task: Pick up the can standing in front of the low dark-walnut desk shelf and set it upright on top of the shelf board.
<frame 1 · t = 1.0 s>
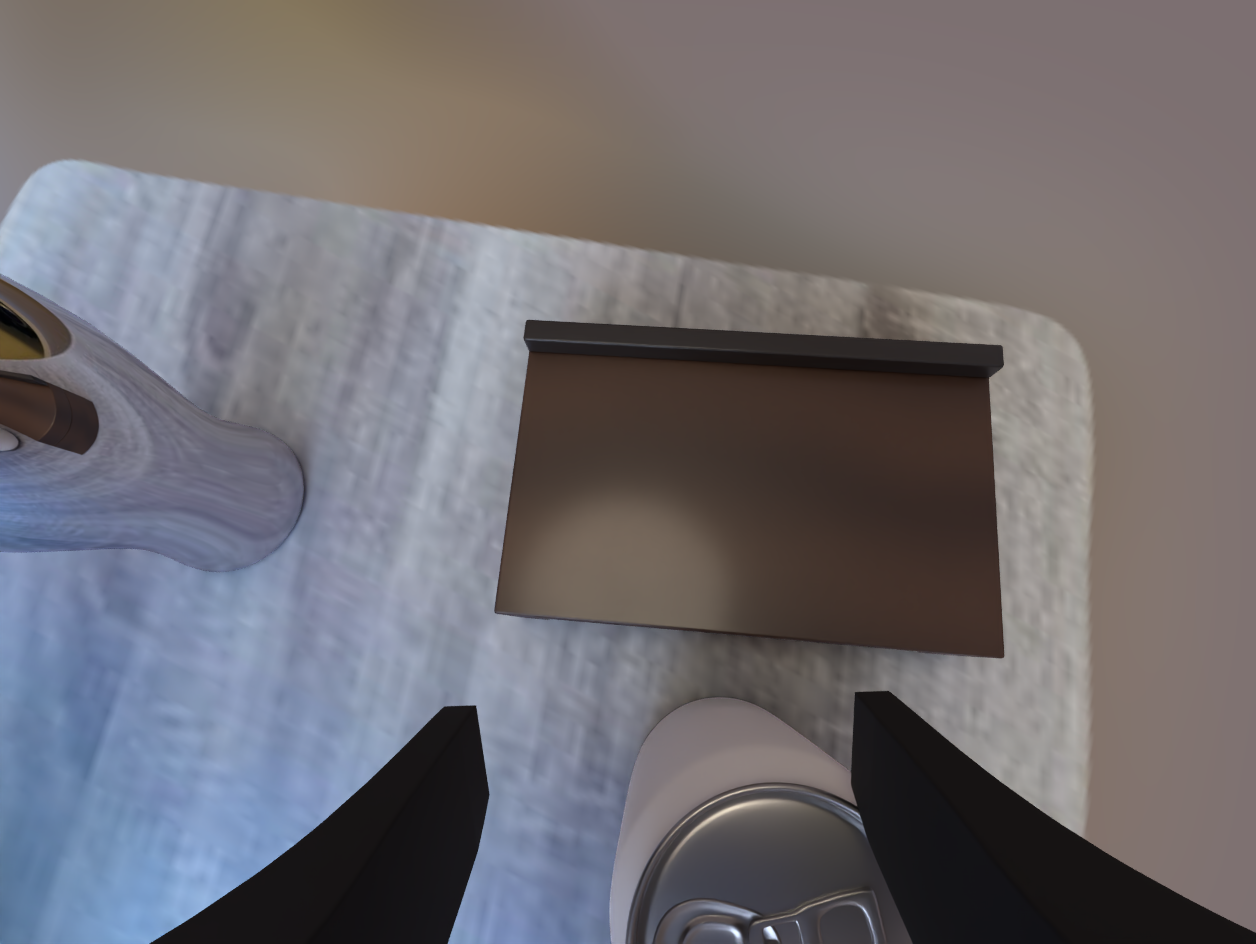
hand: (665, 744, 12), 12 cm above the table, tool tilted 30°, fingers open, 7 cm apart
desk shelf: (735, 505, 25), on the table
beer glass: (237, 499, 27), on the table
can: (721, 789, 23), on the table, touching gripper
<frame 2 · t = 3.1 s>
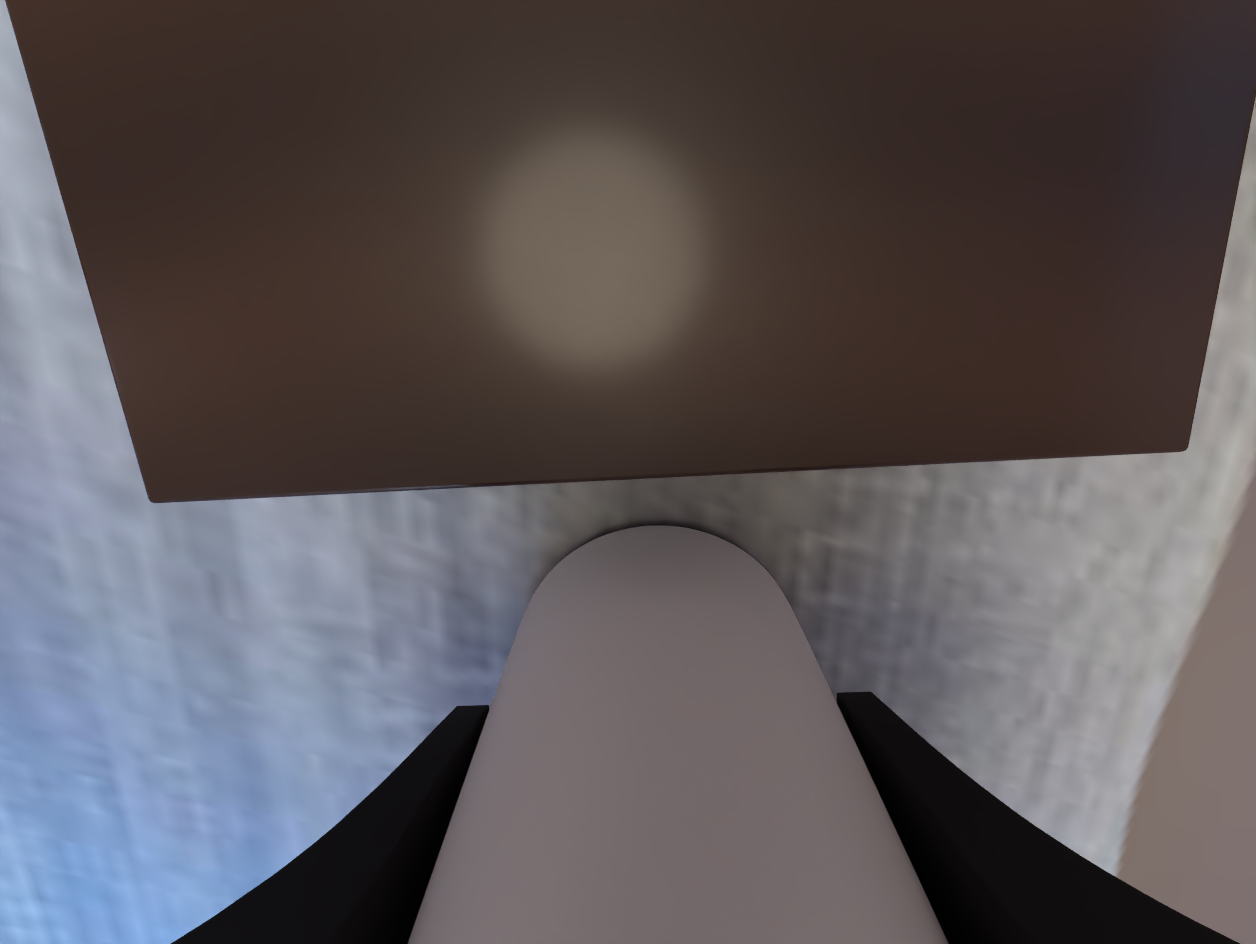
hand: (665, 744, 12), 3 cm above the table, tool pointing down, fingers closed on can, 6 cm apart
desk shelf: (635, 169, 12), on the table
can: (657, 640, 15), on the table, touching gripper
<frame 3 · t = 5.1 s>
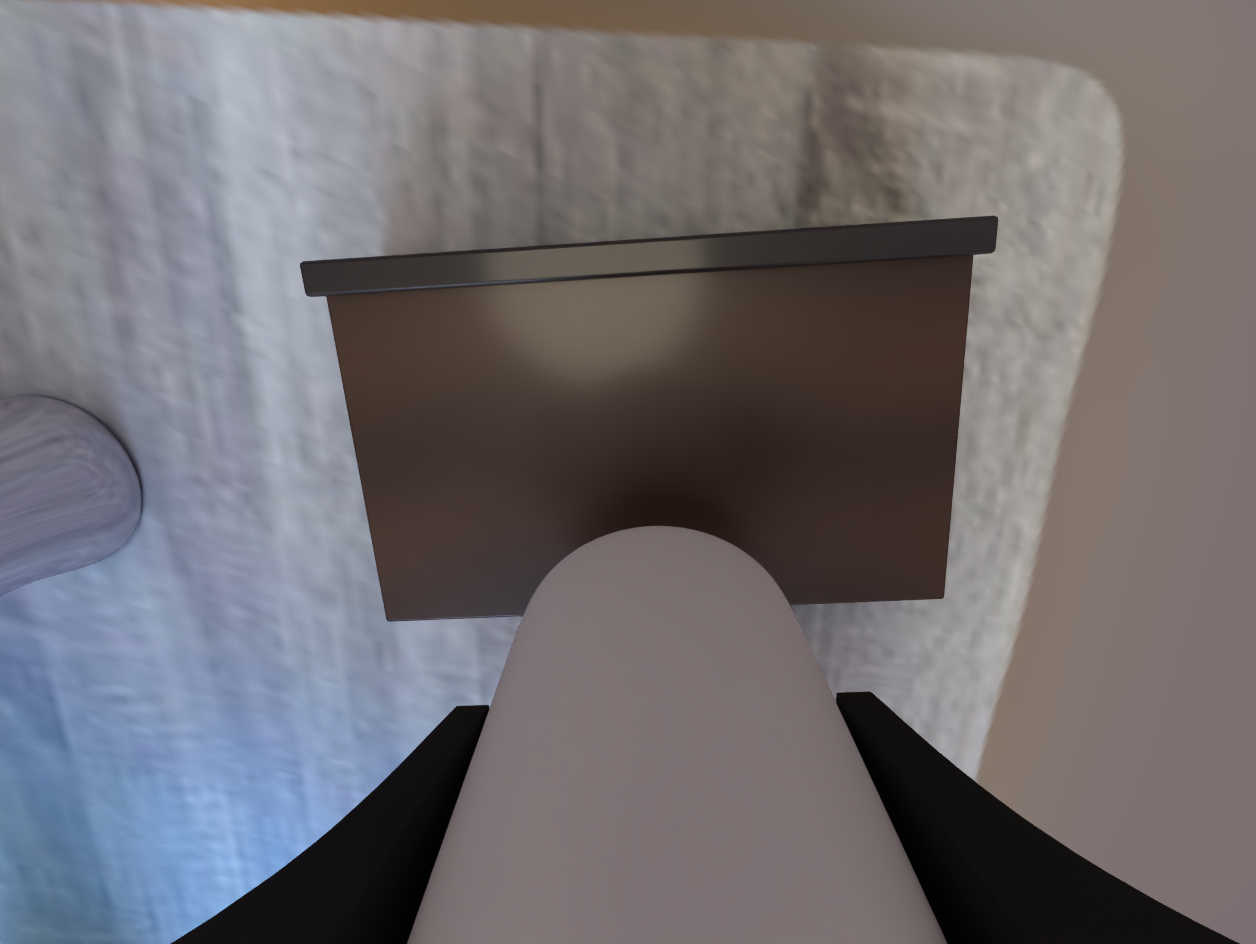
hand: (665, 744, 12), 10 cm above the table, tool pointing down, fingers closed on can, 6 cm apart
desk shelf: (650, 412, 21), on the table
beer glass: (60, 480, 22), on the table
can: (657, 640, 15), point 7 cm above the table, touching gripper
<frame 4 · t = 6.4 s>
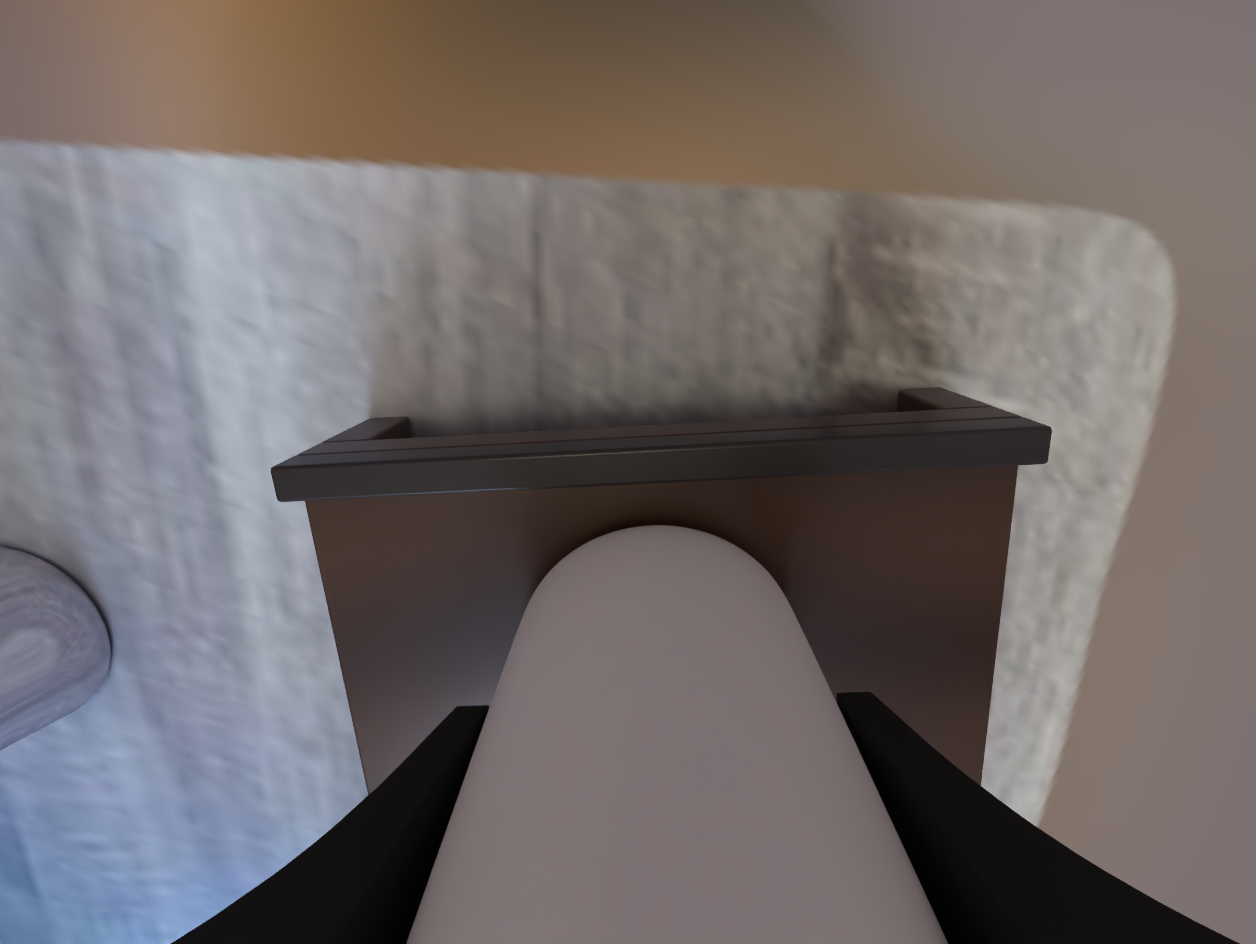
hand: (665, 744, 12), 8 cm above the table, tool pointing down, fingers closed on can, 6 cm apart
desk shelf: (657, 567, 19), on the table
beer glass: (24, 628, 21), on the table
can: (657, 640, 15), point 4 cm above the table, touching gripper
when the fingers open (7 cm above the table, at t = 7.1 s): can stays where it is, resting on desk shelf.
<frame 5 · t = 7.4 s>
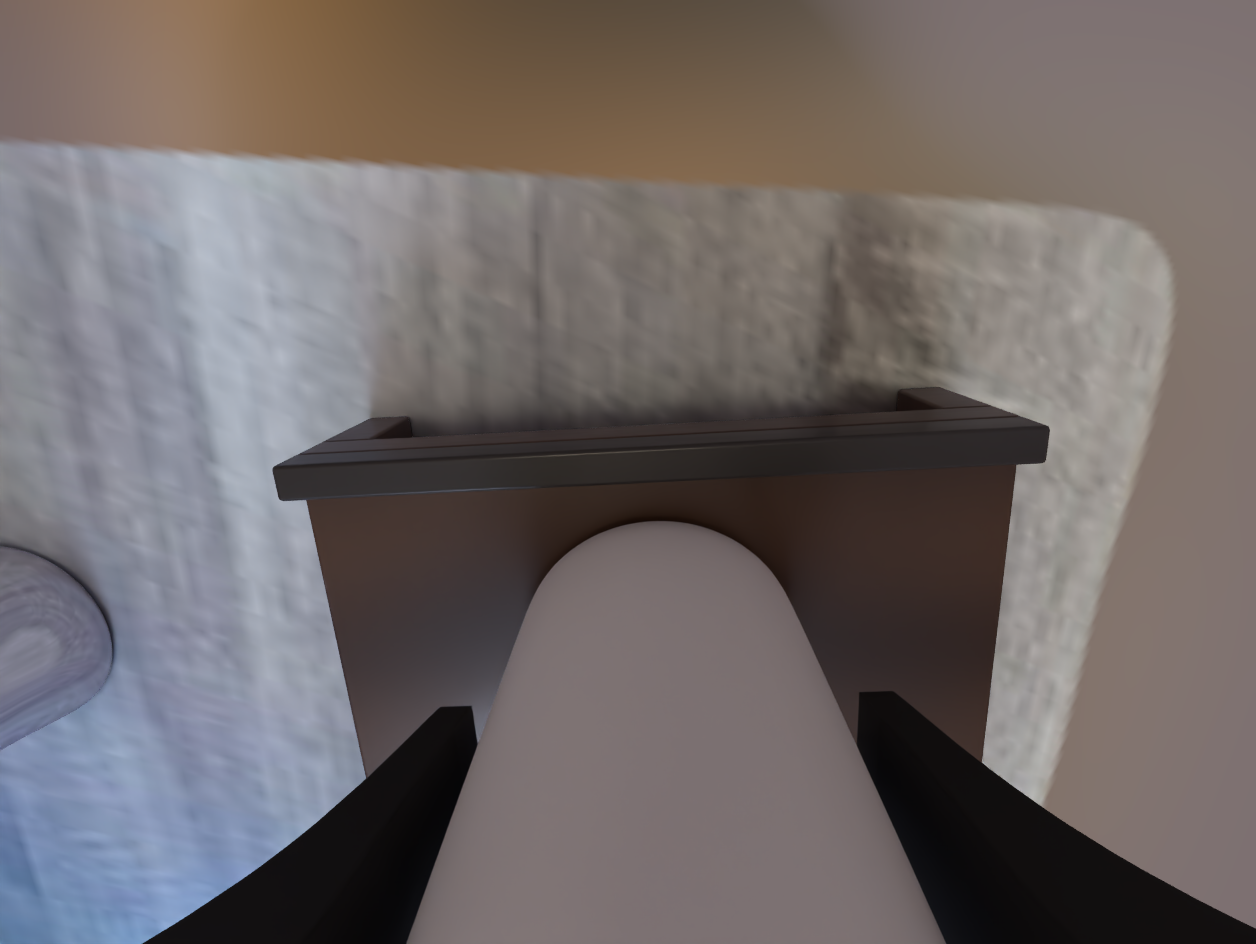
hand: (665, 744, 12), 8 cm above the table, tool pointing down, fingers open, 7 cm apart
desk shelf: (657, 566, 19), on the table
beer glass: (26, 627, 21), on the table
can: (658, 634, 16), point 4 cm above the table, touching desk shelf
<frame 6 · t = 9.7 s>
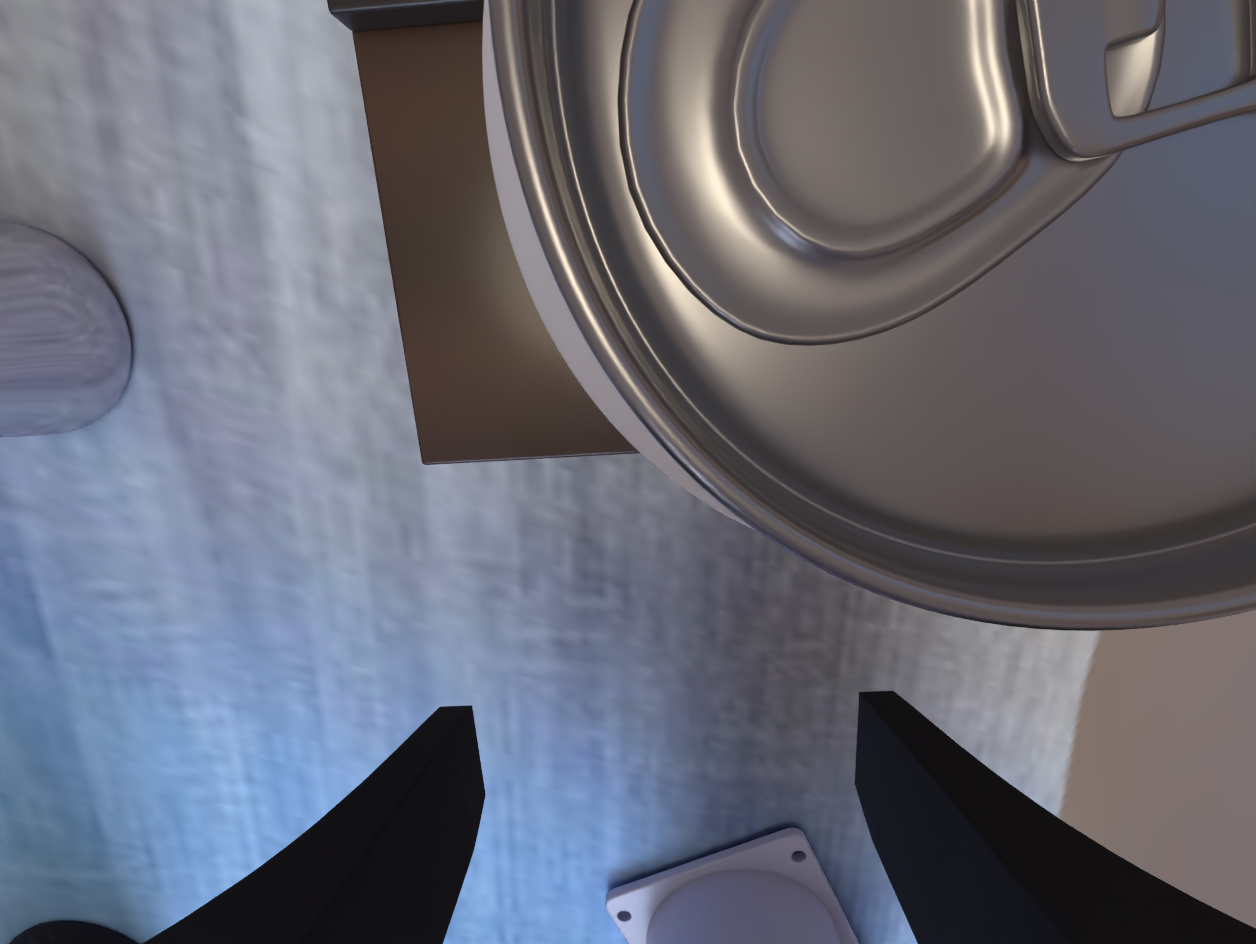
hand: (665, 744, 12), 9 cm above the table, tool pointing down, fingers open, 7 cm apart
desk shelf: (725, 237, 18), on the table
beer glass: (38, 330, 19), on the table
can: (744, 227, 14), point 4 cm above the table, touching desk shelf
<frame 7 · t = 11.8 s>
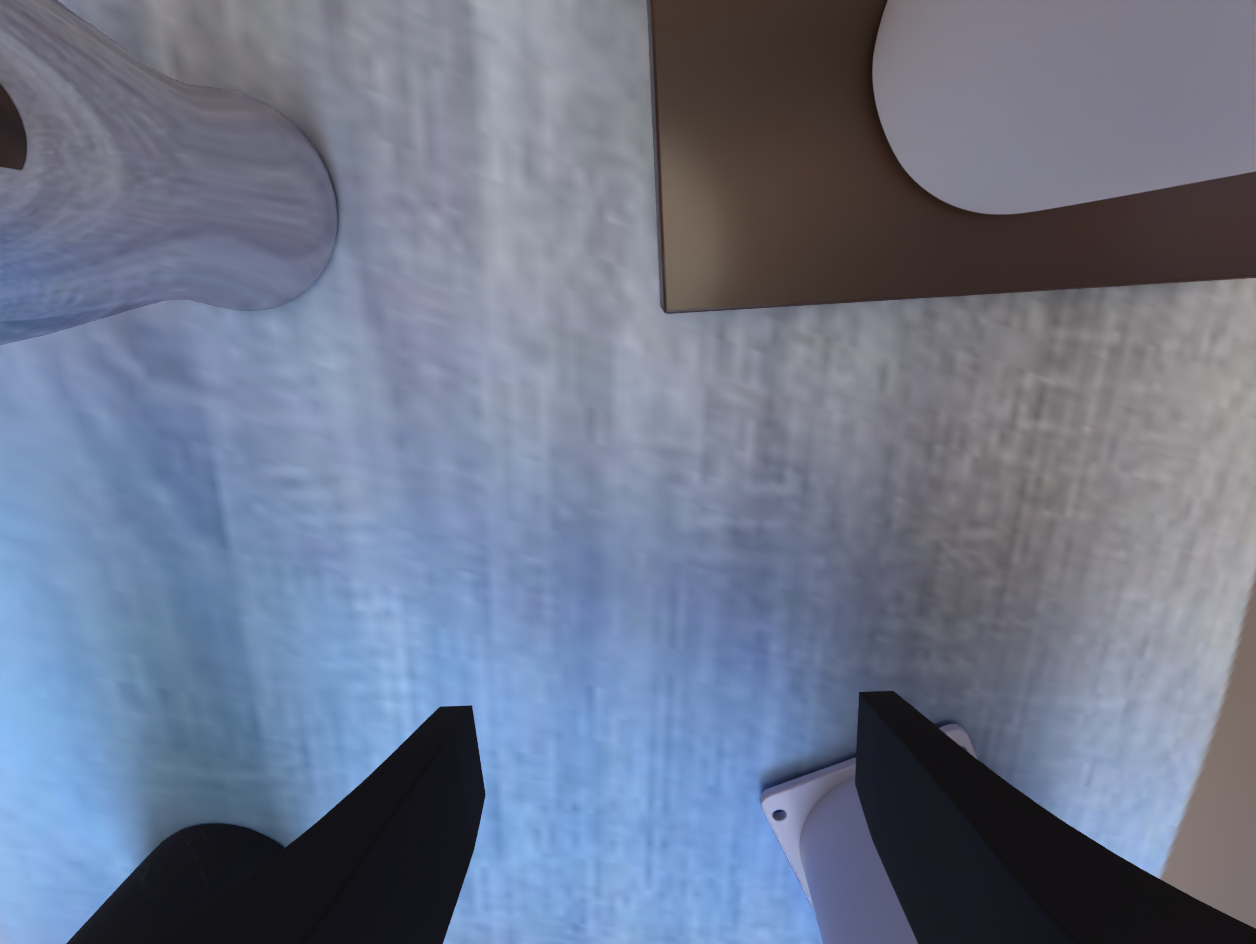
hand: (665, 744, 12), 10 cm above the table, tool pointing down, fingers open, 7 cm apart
desk shelf: (937, 107, 18), on the table
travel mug: (234, 886, 27), on the table
beer glass: (243, 207, 19), on the table
can: (1008, 64, 14), point 4 cm above the table, touching desk shelf
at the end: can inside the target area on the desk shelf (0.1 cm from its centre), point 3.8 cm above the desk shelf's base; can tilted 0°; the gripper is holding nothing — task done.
